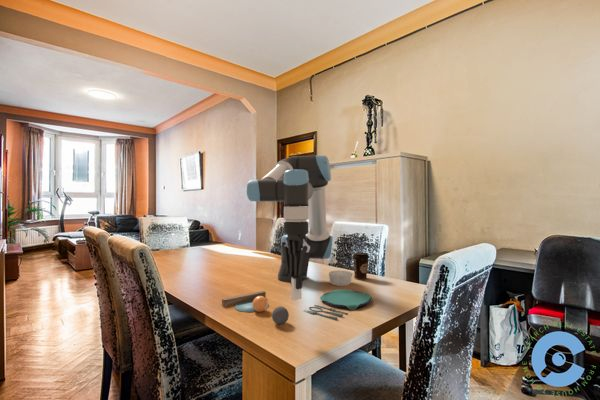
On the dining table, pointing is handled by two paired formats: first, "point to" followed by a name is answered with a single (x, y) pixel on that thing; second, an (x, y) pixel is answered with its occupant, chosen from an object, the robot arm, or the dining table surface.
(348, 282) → the ramekin
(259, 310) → the orange ball
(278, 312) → the gray ball
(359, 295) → the cutlery set
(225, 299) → the stopper strip
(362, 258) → the coffee cup
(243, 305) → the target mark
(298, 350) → the dining table surface
